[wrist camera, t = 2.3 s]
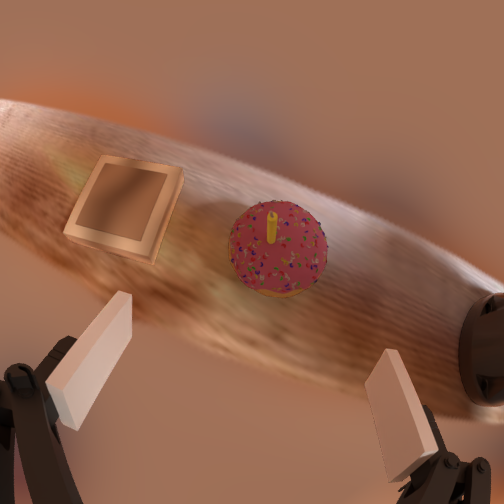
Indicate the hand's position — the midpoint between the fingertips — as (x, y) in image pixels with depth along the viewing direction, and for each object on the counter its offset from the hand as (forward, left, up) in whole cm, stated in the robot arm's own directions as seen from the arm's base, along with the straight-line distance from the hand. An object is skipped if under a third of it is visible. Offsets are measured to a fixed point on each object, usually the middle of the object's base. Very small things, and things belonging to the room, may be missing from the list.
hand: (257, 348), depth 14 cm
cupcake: (-1, -9, -13) cm, 16 cm away
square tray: (+15, -11, -13) cm, 23 cm away
